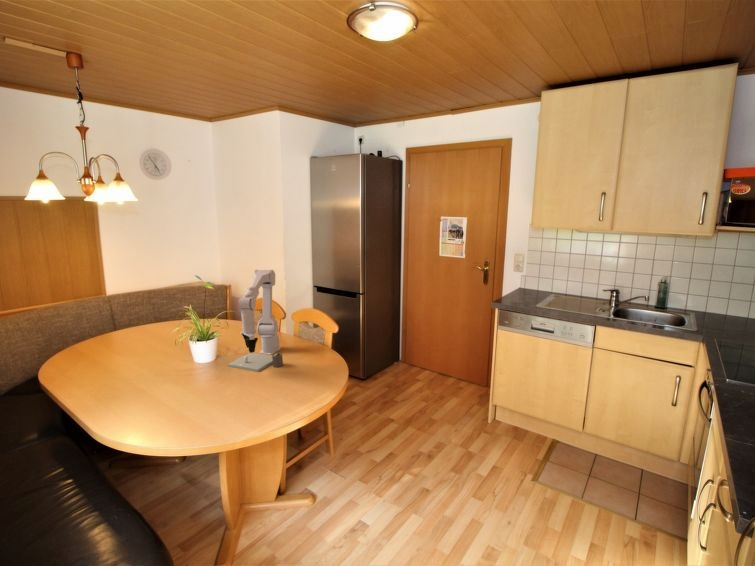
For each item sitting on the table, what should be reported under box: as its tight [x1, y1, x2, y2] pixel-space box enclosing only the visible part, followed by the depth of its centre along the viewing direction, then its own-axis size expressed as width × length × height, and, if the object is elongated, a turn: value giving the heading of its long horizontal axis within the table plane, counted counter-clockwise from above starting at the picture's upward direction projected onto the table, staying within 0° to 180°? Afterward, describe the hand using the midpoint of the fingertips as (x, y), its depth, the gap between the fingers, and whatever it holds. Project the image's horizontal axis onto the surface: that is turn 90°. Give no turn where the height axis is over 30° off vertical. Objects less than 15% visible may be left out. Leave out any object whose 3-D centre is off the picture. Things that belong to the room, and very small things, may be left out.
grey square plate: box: [227, 352, 273, 373], centre depth 207 cm, size 16×18×4 cm
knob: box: [271, 352, 284, 368], centre depth 204 cm, size 5×5×6 cm
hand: (250, 349), depth 199 cm, fingers open, 7 cm apart
